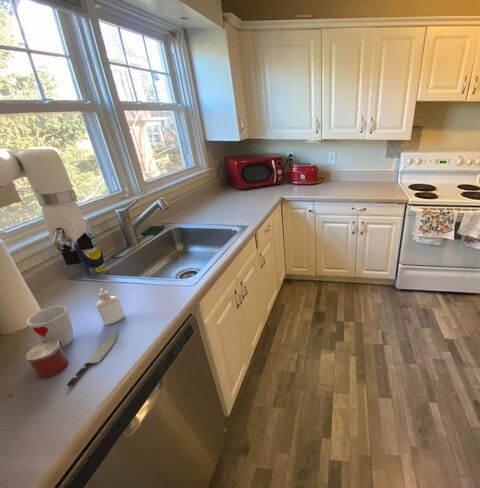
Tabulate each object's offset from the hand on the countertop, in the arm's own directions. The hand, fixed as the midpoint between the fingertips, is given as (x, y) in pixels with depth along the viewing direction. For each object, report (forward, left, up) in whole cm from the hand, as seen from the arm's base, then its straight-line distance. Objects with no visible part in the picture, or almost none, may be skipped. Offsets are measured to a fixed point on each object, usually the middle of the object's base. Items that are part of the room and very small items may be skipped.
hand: (81, 256), depth 80 cm
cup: (-10, -6, -24) cm, 26 cm away
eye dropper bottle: (+2, -1, -24) cm, 24 cm away
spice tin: (-8, -17, -23) cm, 30 cm away
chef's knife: (+2, -17, -23) cm, 29 cm away
